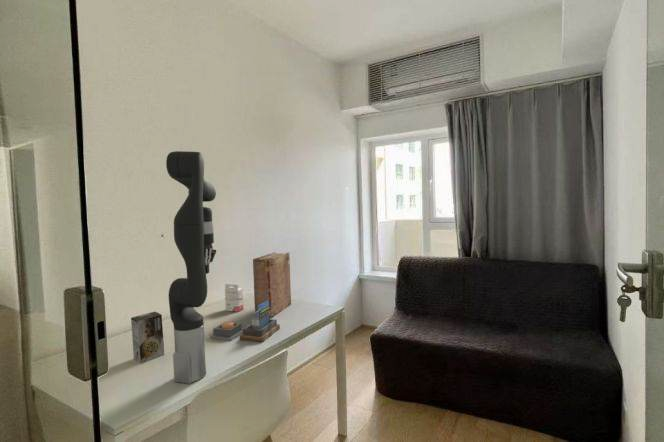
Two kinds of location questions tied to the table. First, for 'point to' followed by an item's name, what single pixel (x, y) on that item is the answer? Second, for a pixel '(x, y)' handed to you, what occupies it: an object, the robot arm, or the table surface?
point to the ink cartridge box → (233, 298)
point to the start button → (227, 325)
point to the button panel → (227, 332)
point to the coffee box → (147, 336)
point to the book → (272, 282)
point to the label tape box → (261, 316)
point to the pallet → (260, 332)
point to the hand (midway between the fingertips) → (205, 273)
